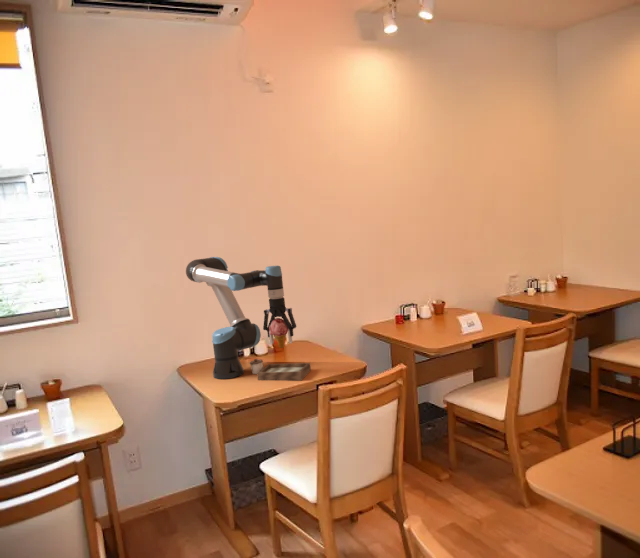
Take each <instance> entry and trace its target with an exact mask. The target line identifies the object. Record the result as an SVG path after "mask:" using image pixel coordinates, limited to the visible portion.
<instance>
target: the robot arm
mask: <svg viewBox="0 0 640 558" xmlns="http://www.w3.org/2000/svg"><path fill="white" fill-rule="evenodd" d="M228 268H229V267H228V264H227V262H226V261H225V260H224V259H223V258H221V257H218V256H211V257H207V258H206V257H205V258H199V259H197V258H196V259H193V260H191V261H190V262H188V264H187V265H186V267H185V274H186V277H187V278H188V279H189V280H190V281H191V282H194V283H199V284H200V283H203V282H204V283H206V285H207V286H209V287H211V289H212V290H213V292H214V295H215V296H216V299H217V301H218V303H219V305H220V306H221V309H222V311H223V312H224V315H225V317H226V319H227V321H228V323H229V325H230V326H226V327H221V328H218V329H216V330H214V331H213V333H212V335H211V336H212V337H211V338H212V341H211V342H212V346H213V354H214V365H213V371H212V375H213V379H217V380H226V379H233V378H238V377H239V376H243V374H244V368H243V366H242V363H241V361H240V358H239V352H240V351H244V350H247V349H251V348H253V347H255V346H257V345H258V344H259V343H260V340H261V336H262V335H261V333H262V332H261V330H260V327H259V326H258V325H257V324H256V323H252V322H251V320H250V318H248V317H246V316H245V314H244V312H243V310H242V309H241V307H240V304H239V303H238V300H237V298H236V296H235V294H234V293H233V292H237V291H239V292H240V291H242V290H246V289H247V290H248V289H252V288H256V287H262V286H264V287H265V286H266V287H267V297H268V298H269V299H268V302H269V305H268V306H269V309H264V310H263V314H264V317H263V327H262V330H263V331H266V332H267V338H269V344H270V345H274V344H275V342H274V341H275V340H274V335H270V333H269V332H270V330H269V327H270V325H271V323H272V321H273V320H274V319H276V318H281V319H283V320H284V322H285V323H286V325H287V326H288V328H289V330H288V332H287V335H288V344H292V343H293V336H294V329H296V328H297V323H296V320H295V317H294V315H293V308H292V307H290V308H288V307H287V308H286V302H285V292H284V283H283V281H284V280H283V273H282V267H281V266H280V265H269V266H268V265H267V266H266V267H265V269H264V270H259V269H258V270H252V271H250V272H245V273H244V272H243V273H239V272H238V273H237V272H233V271H229V270H228ZM270 313H271V316H270V319H269V314H270ZM286 313H287V315H288V317H287V315H286Z"/></svg>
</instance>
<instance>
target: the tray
mask: <svg viewBox="0 0 640 558" xmlns="http://www.w3.org/2000/svg"><path fill="white" fill-rule="evenodd" d="M311 370H312V368H311V362H303V363H301V362H300V363H299V362H298V363H269V364H267V365H266V366H264V367H263V369H262V370H261V371H259V372H258V373H257V374H256V375H257V381H284V382H285V381H287V382H289V381H294V382H295V381H303V380H304V378H306V376H307V375H308V374H309V373H310V372H311Z"/></svg>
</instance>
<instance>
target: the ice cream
mask: <svg viewBox="0 0 640 558" xmlns="http://www.w3.org/2000/svg"><path fill="white" fill-rule="evenodd" d="M269 330H270V332H269V333H270V335H273V338H274V339H275V340H276V342H277V345H278V347H279V349H283V348H284V347H285V338H286V336H287V335H288V330H289V328H288V326H287V325H286V323H285V322H284V320H283V318H282V317H275V319H274V320H273V321H272V323H271V325H270V327H269Z"/></svg>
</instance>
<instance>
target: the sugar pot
mask: <svg viewBox="0 0 640 558" xmlns="http://www.w3.org/2000/svg"><path fill="white" fill-rule="evenodd" d="M249 364H250V369H251V372H252V375H257V373H258V372H259V371H261V370H262V369H263V368H264V365H263V364H264V363H263V359H260V358H259V359H258V358H255V359H253V360H251V361H250V362H249Z"/></svg>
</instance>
